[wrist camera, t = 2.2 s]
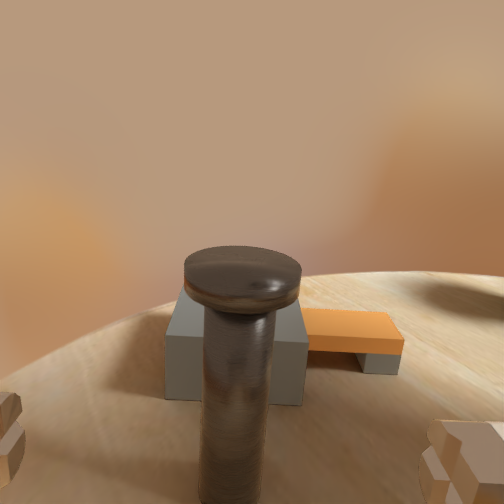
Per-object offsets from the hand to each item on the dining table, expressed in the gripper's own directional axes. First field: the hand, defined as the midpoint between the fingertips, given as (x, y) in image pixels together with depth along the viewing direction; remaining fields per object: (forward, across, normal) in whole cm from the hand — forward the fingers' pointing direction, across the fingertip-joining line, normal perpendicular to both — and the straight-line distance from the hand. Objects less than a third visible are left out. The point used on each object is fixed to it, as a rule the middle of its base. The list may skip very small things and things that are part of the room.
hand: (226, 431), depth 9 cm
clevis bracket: (+26, -5, +15) cm, 31 cm away
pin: (+12, 0, +15) cm, 20 cm away
